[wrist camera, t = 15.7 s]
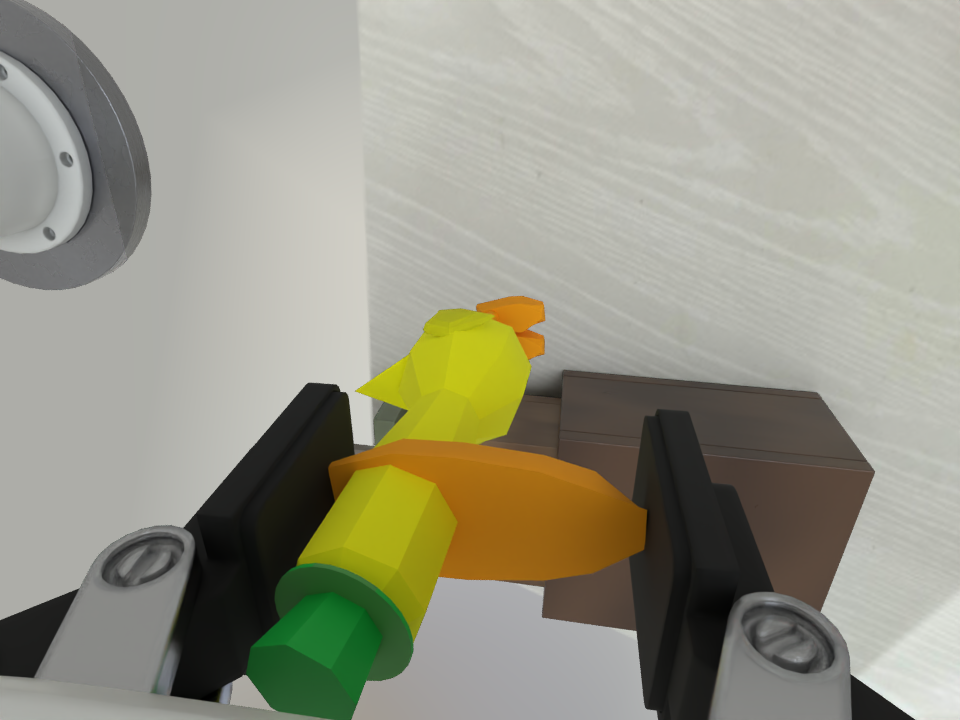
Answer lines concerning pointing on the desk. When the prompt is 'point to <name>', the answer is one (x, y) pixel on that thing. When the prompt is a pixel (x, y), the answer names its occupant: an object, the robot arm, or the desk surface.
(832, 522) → the cabinet
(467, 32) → the desk surface
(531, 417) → the drawer
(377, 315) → the desk surface
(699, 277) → the desk surface
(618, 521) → the toy figure
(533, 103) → the desk surface
